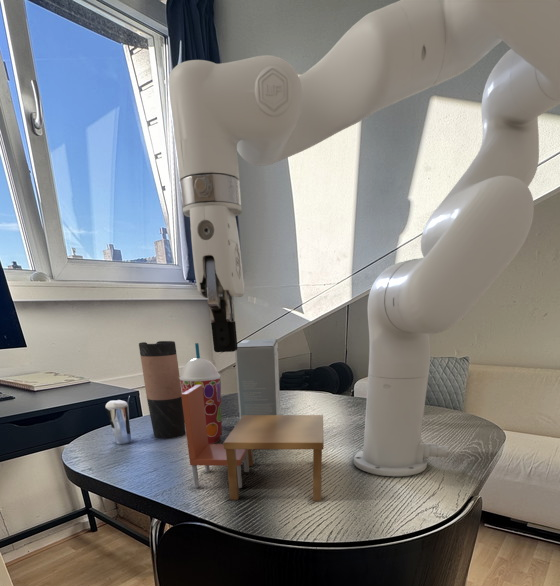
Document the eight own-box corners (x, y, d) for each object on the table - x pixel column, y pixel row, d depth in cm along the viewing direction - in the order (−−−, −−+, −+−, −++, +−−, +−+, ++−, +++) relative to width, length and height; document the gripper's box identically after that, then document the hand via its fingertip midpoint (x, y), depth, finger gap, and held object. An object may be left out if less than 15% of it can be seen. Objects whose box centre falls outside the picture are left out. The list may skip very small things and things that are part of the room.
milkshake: (134, 444, 88) (125, 398, 84) (109, 445, 88) (99, 398, 84) (141, 438, 92) (133, 393, 88) (117, 439, 92) (108, 394, 88)
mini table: (322, 464, 74) (323, 414, 71) (322, 501, 60) (323, 442, 56) (246, 463, 76) (242, 415, 72) (228, 500, 61) (223, 442, 57)
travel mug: (178, 439, 91) (165, 343, 82) (146, 438, 92) (131, 344, 84) (191, 430, 97) (181, 340, 89) (162, 429, 99) (149, 341, 90)
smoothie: (194, 435, 94) (183, 342, 85) (230, 435, 92) (222, 341, 84) (181, 446, 86) (168, 345, 78) (220, 447, 85) (211, 344, 77)
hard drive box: (248, 429, 97) (243, 339, 89) (281, 428, 97) (278, 338, 89) (240, 449, 83) (233, 345, 75) (278, 449, 83) (275, 344, 74)
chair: (250, 470, 72) (244, 384, 66) (242, 488, 65) (235, 393, 58) (205, 469, 73) (196, 384, 66) (192, 487, 65) (180, 394, 59)
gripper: (228, 182, 45) (242, 356, 53) (249, 210, 59) (258, 345, 67) (162, 187, 46) (186, 358, 54) (198, 213, 60) (213, 347, 67)
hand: (226, 351), depth 60 cm, fingers closed
